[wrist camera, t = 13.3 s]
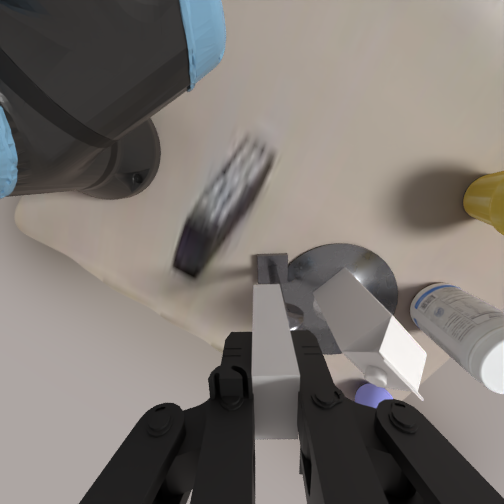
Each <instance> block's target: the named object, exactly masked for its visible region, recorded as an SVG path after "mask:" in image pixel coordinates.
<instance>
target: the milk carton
mask: <svg viewBox="0 0 504 504" xmlns="http://www.w3.org/2000/svg"><path fill="white" fill-rule="evenodd" d="M313 295H314V297H315V299H316V301H317V303H318V305H319V307H320V309H321V312H322V314H323V316H324V318H325V320H326V322H327V324H328V326H329V328H330V330H331V332H332V334H333V336H334V338H335V340H336V342H337V344H338V346H339V348H340V350H341V352H342V353H343V354H344V355H345V356H346V357H347V358H348V359H349V360H350V361H351V362H352V363H353V364H354V365H355V366H356V367H357V368H358V369H359V370H360V371H361V372H362V373H363V374H364V377H365V379H366V380H367V381H368V382H370V383H371V384H374V385H376V386H377V387H382V388H389V389H396V390H403V391H410V392H414V393H415V394H416V395H417V396H418V397H419V398H420V399H421V400H422V401H423V400H424V399H423V398H422V396H421V395H420V394H419V393H418V388H419V384H420V380H421V376H422V372H423V368H424V364H425V360H426V356H427V353H426V352H425V351H424V350H423V349H422V347H421V346H420V345H419V344H418V343H417V342H416V341H415V340H414V339H413V337H412V336H411V335H410V334H409V333H408V332H407V331H406V330H405V329H404V327H403V326H402V325H401V324H400V323H399V322H398V321H397V320H396V319H395V317H394V316H393V315H392V314H391V313H390V312H389V311H388V310H387V309H386V308H385V307H384V306H383V305H382V304H381V303H380V302H379V301H378V300H377V299H376V298H375V297H374V296H373V295H372V294H371V293H370V292H369V291H368V290H367V289H366V288H365V287H364V286H363V285H362V284H361V283H360V282H359V281H358V280H357V279H356V278H355V277H354V276H353V275H352V274H351V273H350V272H349V271H348V270H347V269H346V268H345V267H344V268H343V269H342V270H341V271H339V272H338V273H337V274H336V275H334V276H333V277H332V278H331V279H329V280H328V281H327V282H326V283H324V284H323V285H322V286H321V287H319V288H318V289H317V290H316V291H314V292H313Z"/></svg>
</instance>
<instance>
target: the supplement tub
mask: <svg viewBox="0 0 504 504" xmlns="http://www.w3.org/2000/svg"><path fill="white" fill-rule="evenodd" d="M410 314H411V318H412V320H413V322H414V323H415V324H416V325H417V326H418V327H419V328H420V329H421V330H422V331H423V332H424V333H425V334H426V335H427V336H428V337H430V338H431V339H432V340H433V341H434V342H435V343H436V344H437V345H438V346H439V347H441V348H442V349H443V350H444V351H445V352H446V353H447V354H448V355H449V356H450V357H451V358H453V359H454V360H455V361H456V362H457V363H458V364H459V365H460V366H461V367H462V368H464V369H465V370H466V371H467V372H468V373H469V374H470V375H471V376H472V377H474V378H475V379H476V380H477V381H479V382H480V383H482V384H483V385H484V386H485V387H486V388H488V389H489V390H491V391H493V392H496V393H499V394H504V311H502V310H501V309H499V308H497V307H495V306H493V305H491V304H489V303H487V302H485V301H484V300H482V299H480V298H478V297H476V296H474V295H472V294H470V293H468V292H467V291H465V290H463V289H461V288H459V287H457V286H455V285H452V284H448V283H437V284H433V285H430V286H428V287H426V288H424V289H423V290H421V291H420V292H419V293H418V294H417V295H416V296H415V298H414V299H413V301H412V303H411V307H410Z"/></svg>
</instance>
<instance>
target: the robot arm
mask: <svg viewBox="0 0 504 504" xmlns="http://www.w3.org/2000/svg"><path fill="white" fill-rule="evenodd" d="M225 43H226V27H225V18H224V12H223V7H222V2H221V0H0V198H4V197H8V196H18V195H30V194H41V193H53V192H64V191H74V190H77V191H80V192H82V193H85V194H88V195H90V196H93V197H96V198H101V199H109V200H114V199H122V198H128V197H132V196H134V195H137V194H138V193H140V192H142V191H143V190H144V189H146V188H147V187H148V186H149V185H150V183H151V182H152V181H153V179H154V177H155V176H156V173H157V171H158V168H159V164H160V155H161V151H160V142H159V137H158V134H157V131H156V128H155V126H154V124H153V122H152V120H151V119H150V117H152V116H153V115H154V114H156V113H157V112H158V111H160V110H161V109H162V108H164V107H165V106H166V105H168V104H169V103H171V102H172V101H173V100H175V99H176V98H177V97H179V96H180V95H181V94H183V93H184V92H185V91H187V92H190V91H191V90H192V89H193V88H194V86H195V84H196V83H197V82H198V81H199V80H200V79H202V78H203V77H204V76H205V75H206V74H208V73H209V72H210V71H211V70H213V69H214V68H215V67H216V66H217V65H218V64H219V63H220V61H221V59H222V57H223V54H224V50H225ZM208 382H209V391H210V398H209V399H208V400H207V401H206V402H204V403H203V404H201V405H199V406H196V407H193V408H190V409H187V410H184V411H182V409H181V408H180V406H178V405H176V404H174V403H163V404H159V405H156V406H154V407H153V408H151V409H150V410H148V411H147V412H146V413H145V414H144V415H143V416H142V417H141V418H140V420H139V421H138V422H137V424H136V425H135V427H134V428H133V429H132V431H131V432H130V434H129V435H128V436H127V438H126V439H125V440H124V442H123V443H122V445H121V446H120V447H119V449H118V450H117V451H116V453H115V454H114V456H113V457H112V458H111V460H110V461H109V463H108V464H107V465H106V467H105V468H104V469H103V471H102V472H101V474H100V475H99V477H98V478H97V479H96V481H95V482H94V483H93V485H92V486H91V488H90V489H89V490H88V492H87V493H86V494H85V496H84V497H83V499H82V500H81V501H80V503H79V504H186V503H187V500H188V498H189V495H190V492H191V490H192V489H193V492H192V496H191V502H190V504H255V439H298V434H299V440H300V445H301V446H300V473H299V474H303V480H304V486H305V492H306V499H307V504H504V498H502V497H501V495H500V494H499V493H498V492H497V491H496V490H495V489H494V488H493V487H492V486H491V485H490V484H489V483H488V482H487V481H486V480H485V479H484V478H483V477H482V476H481V475H480V474H479V472H478V471H477V470H476V469H474V467H472V465H471V464H470V463H469V462H468V461H467V460H466V459H465V458H464V457H463V456H462V455H461V454H460V453H459V452H458V451H457V450H456V449H455V448H454V447H453V446H452V444H451V443H449V442H448V440H447V439H446V438H445V437H444V436H443V435H442V434H441V433H440V432H439V431H438V430H437V429H436V428H435V427H434V426H433V425H432V424H431V423H430V422H429V421H428V420H427V419H426V418H425V417H424V415H423V414H421V413H420V412H419V411H418V410H417V409H415V408H414V407H413V406H411V405H409V404H407V403H405V402H403V401H399V400H396V399H385V400H383V401H381V402H379V404H378V406H377V408H373V407H370V406H366V405H362V404H359V403H356V402H354V401H351V400H350V399H348V398H346V397H345V396H344V394H343V393H342V391H341V390H339V389H338V388H337V387H336V386H335V385H334V383H333V380H332V377H331V375H330V372H329V369H328V367H327V364H326V361H325V359H324V356H323V355H322V351H321V348H320V346H319V343H318V340H317V338H316V336H315V335H314V334H313V333H312V332H311V331H309V330H290V328H289V324H288V319H287V315H286V310H285V306H284V302H283V297H282V293H281V288H280V284H262V285H253V325H252V332H231V333H230V335H229V336H228V337H227V338H226V340H225V345H224V350H223V357H222V362H221V365H220V366H218V367H217V368H215V370H213V371H212V372H211V374H210V377H209V378H208Z"/></svg>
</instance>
